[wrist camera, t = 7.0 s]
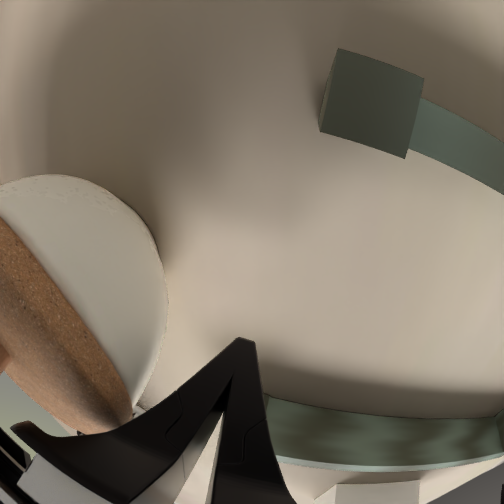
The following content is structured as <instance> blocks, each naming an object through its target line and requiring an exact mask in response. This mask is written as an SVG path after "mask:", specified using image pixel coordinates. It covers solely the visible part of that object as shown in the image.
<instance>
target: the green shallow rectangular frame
mask: <svg viewBox="0 0 504 504" xmlns="http://www.w3.org/2000/svg"><path fill="white" fill-rule="evenodd" d="M423 82H424V78H421V77H419V76H417V75H415V74H412V73H410V72H407V71H405V70H402V69H400V68H397V67H395V66H392V65H389V64H387V63H384V62H381V61H378V60H375V59H372V58H369V57H366V56H363V55H360V54H356V53H353V52H350V51H346V50H342V49H339V48H338V50H337V53H336V56H335V59H334V62H333V65H332V68H331V71H330V74H329V77H328V80H327V85H326V90H325V94H324V99H323V103H322V108H321V112H320V117H319V121H318V125H319V129H320V132H323V133H327V134H330V135H334V136H337V137H341V138H344V139H347V140H351V141H354V142H357V143H360V144H363V145H367V146H370V147H373V148H375V149H378V150H381V151H384V152H387V153H390V154H392V155H395V156H398V157H401V158H403V159H405V157H406V153H407V150H408V148H409V149H411V150H414V151H416V152H419V153H421V154H424V155H426V156H428V157H431V158H433V159H435V160H437V161H440V162H442V163H444V164H446V165H448V166H450V167H452V168H454V169H457V170H459V171H461V172H463V173H465V174H467V175H469V176H470V177H472V178H474V179H476V180H478V181H480V182H482V183H484V184H485V185H487V186H489V187H491V188H493V189H494V190H496V191H498V192H499V193H501V194H503V195H504V143H503V142H501V141H500V140H498V139H497V138H495V137H494V136H492V135H491V134H489V133H487V132H486V131H484V130H482V129H481V128H479V127H477V126H476V125H474V124H472V123H471V122H469V121H467V120H465V119H463V118H462V117H460V116H458V115H456V114H454V113H452V112H450V111H448V110H446V109H444V108H442V107H440V106H438V105H436V104H434V103H432V102H430V101H427V100H425V99H423V98H421V92H422V87H423ZM263 396H264V402H265V409H266V415H267V420H268V427H269V432H270V437H271V442H272V445H273V449H274V452H275V455H276V458H277V461H278V462H280V463H286V464H292V465H298V466H305V467H312V468H321V469H330V470H342V471H360V472H403V471H419V470H431V469H440V468H448V467H455V466H461V465H467V464H472V463H477V462H482V461H486V460H491V459H495V458H499V457H501V456H503V455H504V409H503V410H502V411H501V412H500V413H499V414H498V415H496V416H495V417H488V418H473V419H415V418H398V417H385V416H375V415H366V414H358V413H350V412H343V411H337V410H331V409H325V408H319V407H314V406H308V405H303V404H298V403H294V402H289V401H285V400H280V399H276V398H272V397H270V395H266V394H263Z"/></svg>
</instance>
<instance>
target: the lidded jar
mask: <svg viewBox="0 0 504 504" xmlns="http://www.w3.org/2000/svg"><path fill="white" fill-rule="evenodd" d="M168 304H169V302H168V293H167V284H166V277H165V273H164V269H163V265H162V263H161V260H160V258H159V254H158V250H157V246H156V244H155V241H154V238H153V236H152V235H151V233H150V231H149V229H148V227H147V226H146V224H145V223H144V221H143V220H142V219H141V218H140V217H139V215H138V214H137V213H136V212H135V211H134V210H133V209H132V208H131V207H130V206H128V205H127V204H125V203H124V202H123V201H121V200H119V199H118V198H117V197H116V196H114V195H113V194H112V193H110V192H109V191H107V190H106V189H104V188H102V187H100V186H98V185H96V184H94V183H92V182H89V181H87V180H85V179H81V178H77V177H74V176H67V175H60V174H46V175H36V176H29V177H25V178H22V179H18V180H14V181H11V182H8V183H5V184H2V185H0V375H1V373H2V372H3V371H5V372H6V373H7V375H8V376H9V377H11V379H12V380H13V381H14V382H15V383H16V384H17V385H18V386H19V387H20V388H21V389H22V390H23V391H24V392H25V393H26V394H27V395H28V396H30V397H31V398H32V399H33V400H34V401H35V402H36V403H38V404H39V405H40V406H41V407H43V408H44V409H45V410H46V411H48V412H49V413H50V414H52V415H53V416H55V417H56V418H58V419H59V420H61V421H62V422H64V423H65V424H67V425H69V426H70V427H72V428H74V429H76V430H78V431H80V432H82V433H84V434H86V435H88V434H96V433H102V432H107V431H110V430H113V429H115V428H118V427H120V426H121V425H123V424H125V423H127V422H129V421H130V420H131V419H132V414H133V409H134V407H135V405H136V404H137V402H138V400H139V398H140V397H141V395H142V393H143V391H144V389H145V387H146V385H147V383H148V382H149V380H150V378H151V376H152V373H153V371H154V368H155V365H156V363H157V360H158V358H159V355H160V351H161V347H162V344H163V340H164V337H165V333H166V329H167V319H168Z"/></svg>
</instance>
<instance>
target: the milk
mask: <svg viewBox="0 0 504 504" xmlns="http://www.w3.org/2000/svg"><path fill="white" fill-rule="evenodd" d="M419 488H420V480H414V481H405V482H394V483H379V484H336V485H334V486H333V487H332V488H330V489H329V490H328V491H326V492H325V493H323V494H322V495H320V496H319V497H318V498H316V499H315V500H314V504H419Z"/></svg>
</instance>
